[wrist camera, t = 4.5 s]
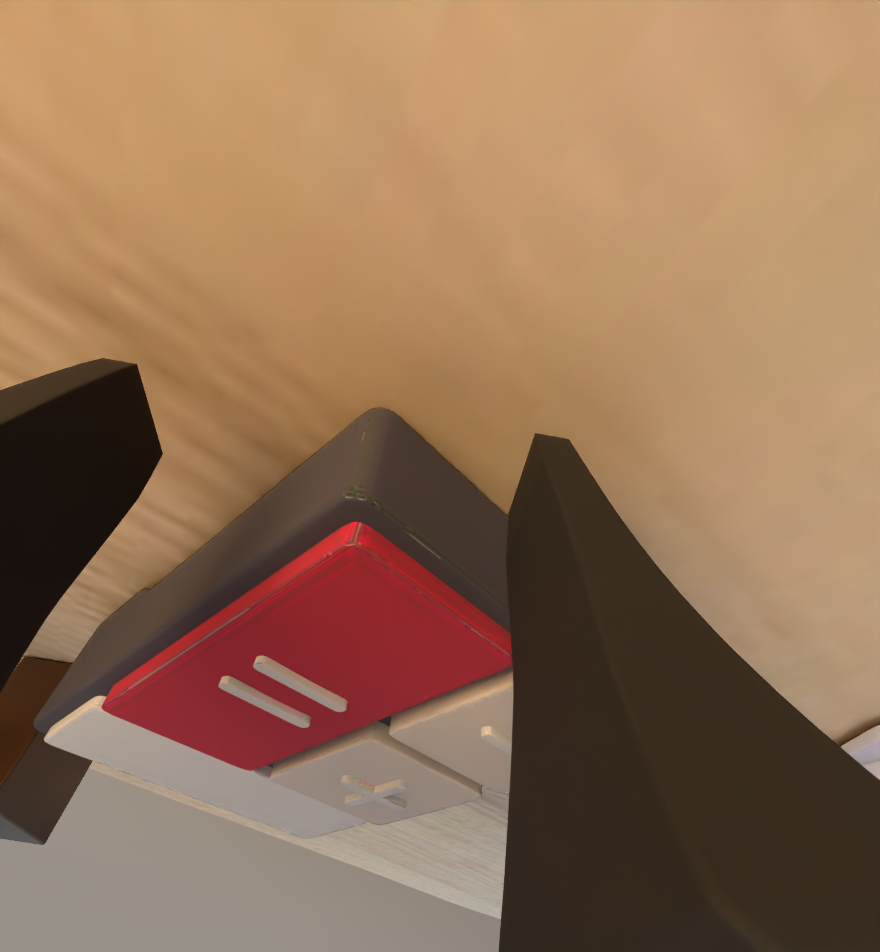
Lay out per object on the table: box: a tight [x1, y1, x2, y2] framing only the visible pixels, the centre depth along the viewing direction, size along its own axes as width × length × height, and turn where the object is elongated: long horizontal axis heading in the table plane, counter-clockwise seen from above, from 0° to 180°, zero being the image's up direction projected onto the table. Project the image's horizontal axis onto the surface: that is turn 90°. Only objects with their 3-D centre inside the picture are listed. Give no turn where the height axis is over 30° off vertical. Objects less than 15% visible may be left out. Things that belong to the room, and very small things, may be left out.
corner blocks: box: [0, 657, 92, 845], centre depth 20 cm, size 26×5×5 cm, turn 82°
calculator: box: [34, 408, 513, 838], centre depth 15 cm, size 11×4×15 cm
